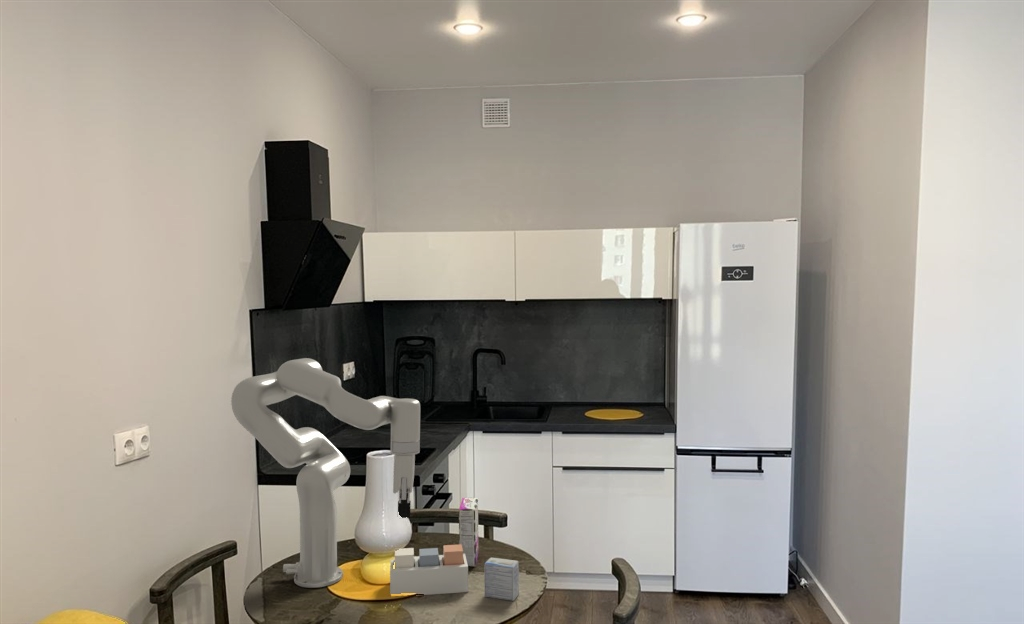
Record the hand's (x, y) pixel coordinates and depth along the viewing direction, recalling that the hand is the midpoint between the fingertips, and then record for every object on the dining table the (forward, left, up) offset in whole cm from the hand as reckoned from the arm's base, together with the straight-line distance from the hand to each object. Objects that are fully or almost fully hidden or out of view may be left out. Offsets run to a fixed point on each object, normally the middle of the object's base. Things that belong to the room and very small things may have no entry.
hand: (404, 516), depth 172 cm
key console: (+6, -1, -18) cm, 19 cm away
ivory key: (0, -1, -15) cm, 15 cm away
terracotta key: (+13, -1, -15) cm, 19 cm away
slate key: (+6, -1, -15) cm, 17 cm away
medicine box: (+24, -9, -19) cm, 32 cm away
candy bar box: (+18, +16, -19) cm, 30 cm away
